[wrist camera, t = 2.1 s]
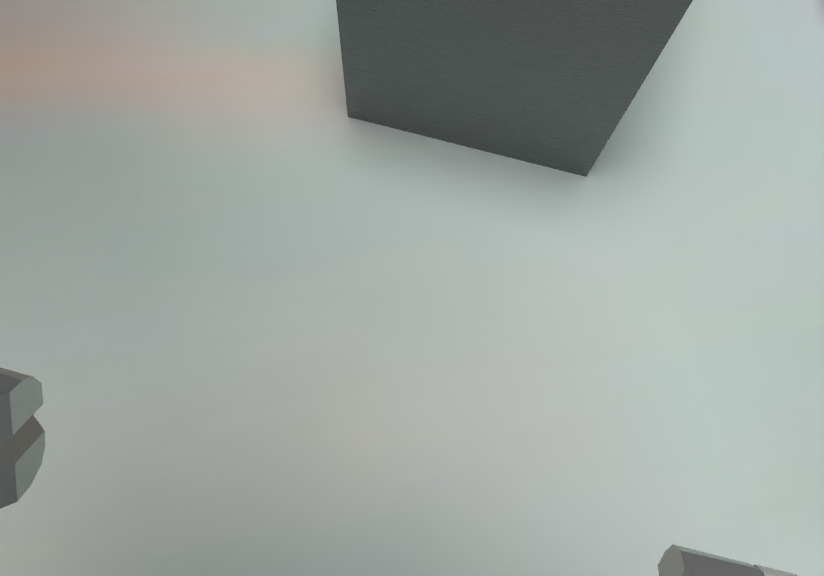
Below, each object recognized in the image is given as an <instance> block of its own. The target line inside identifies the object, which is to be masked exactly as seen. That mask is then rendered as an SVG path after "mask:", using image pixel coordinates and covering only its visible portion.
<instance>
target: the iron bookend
mask: <svg viewBox="0 0 824 576" xmlns="http://www.w3.org/2000/svg"><path fill="white" fill-rule="evenodd" d="M692 1H693V0H336V3H337V13H338V23H339V32H340V42H341V52H342V62H343V72H344V82H345V92H346V102H347V111H348V117H351V118H355V119H359V120H363V121H367V122H371V123H375V124H379V125H383V126H387V127H391V128H395V129H399V130H403V131H407V132H411V133H415V134H419V135H423V136H427V137H431V138H435V139H439V140H443V141H447V142H451V143H455V144H459V145H463V146H467V147H471V148H474V149H478V150H482V151H486V152H490V153H494V154H498V155H502V156H506V157H510V158H514V159H518V160H522V161H526V162H530V163H534V164H538V165H542V166H546V167H550V168H554V169H558V170H562V171H566V172H570V173H574V174H578V175H582V176H587V174H588V172H589V171H590V169H591V167H592V166H593V164H594V162H595V161H596V159H597V157H598V156H599V154H600V152H601V151H602V149H603V147H604V146H605V144H606V143H607V141H608V139H609V138H610V136H611V134H612V133H613V131H614V129H615V128H616V126H617V124H618V123H619V121H620V119H621V118H622V116H623V114H624V113H625V111H626V110H627V108H628V106H629V105H630V103H631V101H632V100H633V98H634V96H635V95H636V93H637V91H638V90H639V88H640V86H641V85H642V83H643V81H644V80H645V78H646V77H647V75H648V73H649V72H650V70H651V68H652V67H653V65H654V63H655V62H656V60H657V58H658V57H659V55H660V53H661V52H662V50H663V48H664V47H665V45H666V44H667V42H668V40H669V39H670V37H671V35H672V34H673V32H674V30H675V29H676V27H677V25H678V24H679V22H680V20H681V19H682V17H683V15H684V14H685V12H686V10H687V9H688V7H689V6H690V4H691V2H692Z"/></svg>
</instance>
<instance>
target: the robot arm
mask: <svg viewBox="0 0 824 576" xmlns="http://www.w3.org/2000/svg"><path fill="white" fill-rule="evenodd" d="M42 405H43V395H42V385H41V382H39V381H38V380H37V379H35V378H34V377H32V376H28V375H25V374H21V373H18V372H14V371H11V370H7V369H4V368H0V509H1V508H3V507H5V506H8V505H10V504H12V503H15V502H17V501H18V500H19V499H20V498H21V496H22V495H23V494H24V493H25V492H26V490H27V489H28V488H29V487H30V486H31V484H32V482H33V480H34V478H35V476H36V474H37V472H38V470H39V468H40V466H41V463H42V459H43V454H44V449H45V431H44V429H43V428H42V427H41V425H40V424H39V422H38V421H37V420H36V418H35V417H34V415H33V414H34V413H35V412H36V411H37V410H38V409H39V408H40V407H41V406H42ZM658 570H659V576H797V575H796V574H792V573H788V572H784V571H779V570H775V569H771V568H767V567H763V566H759V565H751V564H748V563H744V562H741V561H737V560H733V559H729V558H725V557H721V556H717V555H713V554H709V553H705V552H701V551H697V550H693V549H689V548H685V547H681V546H678V545H674V544H673V545H671V546H670V547H669V548H668V549H667V550H666V551H665V553H664V555H663V557H662V558H661V560H660V562H659V564H658Z"/></svg>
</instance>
